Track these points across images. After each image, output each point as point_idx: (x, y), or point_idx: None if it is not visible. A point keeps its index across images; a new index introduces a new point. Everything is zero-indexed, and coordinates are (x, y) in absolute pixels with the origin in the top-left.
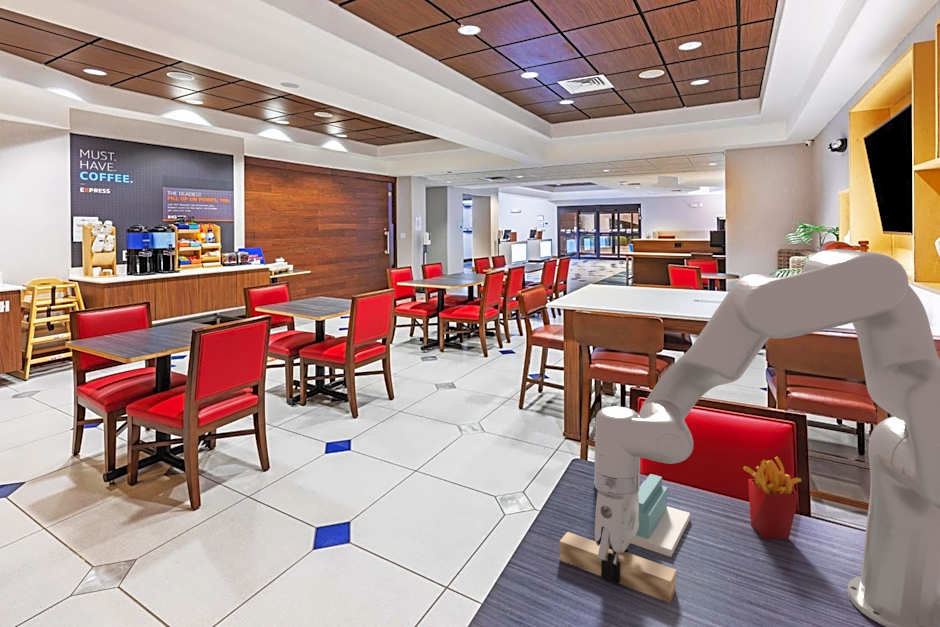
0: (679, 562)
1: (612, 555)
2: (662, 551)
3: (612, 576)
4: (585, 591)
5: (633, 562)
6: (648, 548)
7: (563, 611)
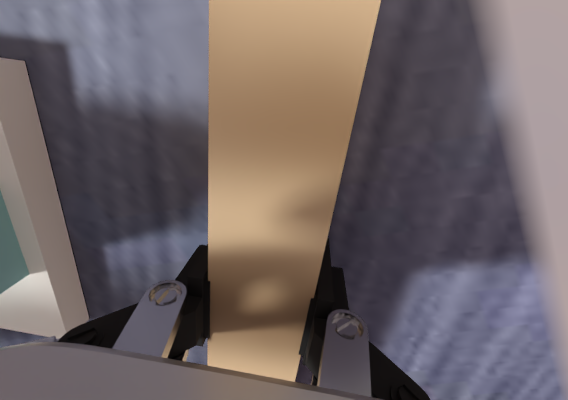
0: (30, 11)
1: (383, 394)
2: (22, 104)
3: (343, 278)
4: (399, 316)
5: (277, 239)
6: (46, 165)
7: (514, 352)
